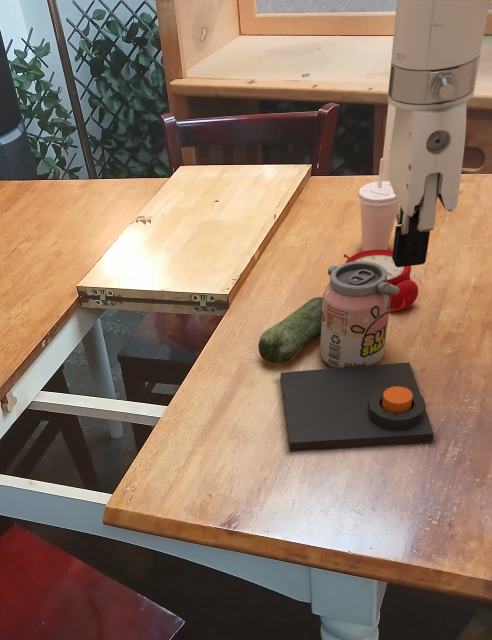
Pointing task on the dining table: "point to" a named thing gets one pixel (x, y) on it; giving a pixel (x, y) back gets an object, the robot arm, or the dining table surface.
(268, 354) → the vegetable
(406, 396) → the button
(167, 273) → the dining table surface
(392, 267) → the alarm clock
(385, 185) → the smoothie
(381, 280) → the beverage can
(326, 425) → the grey button plate
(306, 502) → the dining table surface
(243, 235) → the dining table surface
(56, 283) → the dining table surface
